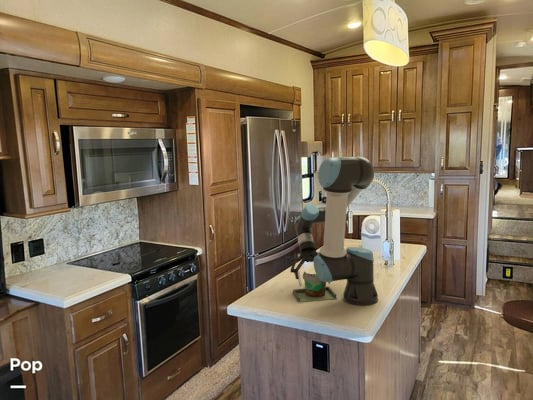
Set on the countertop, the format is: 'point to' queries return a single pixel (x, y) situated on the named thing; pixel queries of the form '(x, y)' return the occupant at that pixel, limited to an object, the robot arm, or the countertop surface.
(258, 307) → the countertop surface
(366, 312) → the countertop surface
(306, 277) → the food container
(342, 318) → the countertop surface
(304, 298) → the green tray
